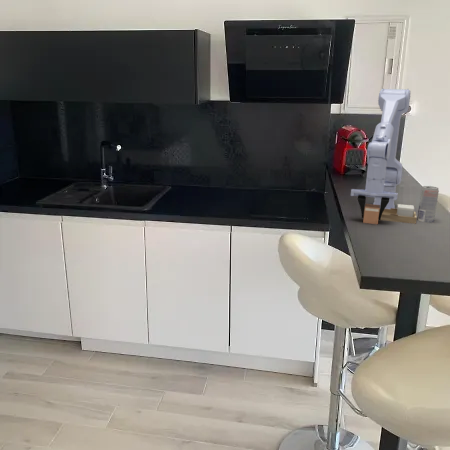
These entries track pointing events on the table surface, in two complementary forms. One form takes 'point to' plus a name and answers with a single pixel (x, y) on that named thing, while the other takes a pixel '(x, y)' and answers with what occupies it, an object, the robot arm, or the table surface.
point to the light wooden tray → (393, 216)
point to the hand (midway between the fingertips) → (371, 218)
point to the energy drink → (428, 204)
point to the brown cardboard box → (371, 213)
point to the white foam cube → (405, 210)
